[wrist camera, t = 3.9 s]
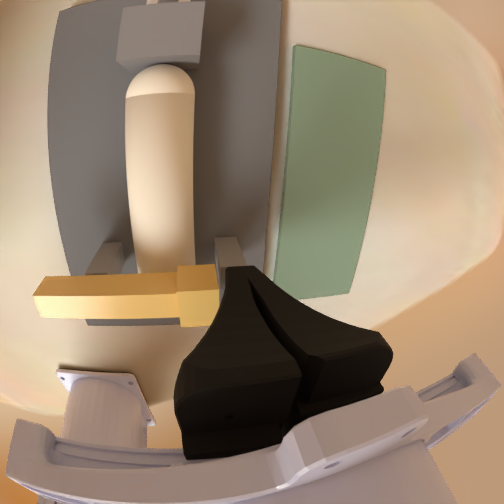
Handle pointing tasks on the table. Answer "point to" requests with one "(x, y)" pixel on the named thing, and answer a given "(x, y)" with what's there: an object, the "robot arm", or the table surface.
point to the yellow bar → (133, 296)
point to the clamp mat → (204, 138)
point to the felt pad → (327, 171)
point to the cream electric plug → (161, 129)
